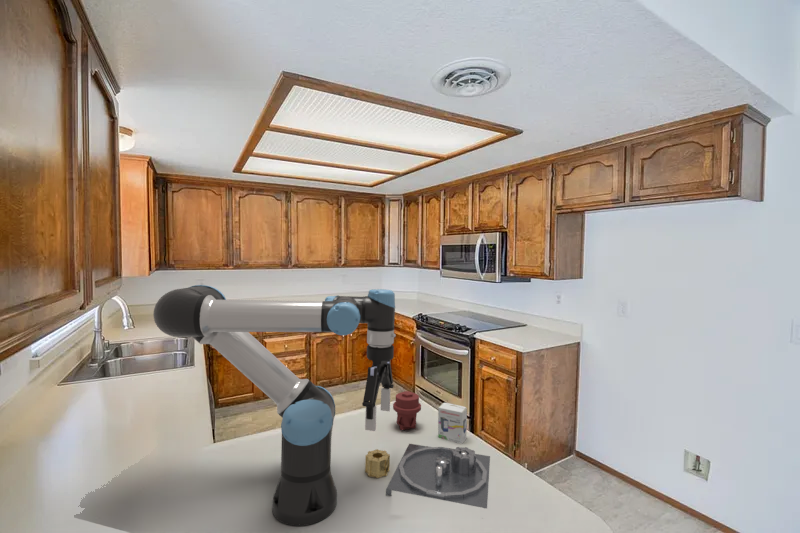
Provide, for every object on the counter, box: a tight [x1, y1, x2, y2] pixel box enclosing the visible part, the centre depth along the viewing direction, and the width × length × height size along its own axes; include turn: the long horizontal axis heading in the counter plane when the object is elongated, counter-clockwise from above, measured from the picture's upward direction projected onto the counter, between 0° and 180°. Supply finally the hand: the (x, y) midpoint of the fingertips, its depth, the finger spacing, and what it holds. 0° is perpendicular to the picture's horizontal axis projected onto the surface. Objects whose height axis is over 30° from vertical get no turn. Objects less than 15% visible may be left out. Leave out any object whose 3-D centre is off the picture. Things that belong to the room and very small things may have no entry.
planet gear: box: [364, 448, 391, 479], centre depth 107 cm, size 7×7×4 cm
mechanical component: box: [392, 390, 422, 431], centre depth 136 cm, size 12×10×10 cm
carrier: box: [385, 443, 491, 509], centre depth 105 cm, size 25×25×6 cm
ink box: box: [437, 402, 468, 445], centre depth 125 cm, size 9×5×12 cm, turn 62°
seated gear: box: [451, 446, 476, 475], centre depth 107 cm, size 7×7×4 cm
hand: (378, 419), depth 107 cm, fingers open, 13 cm apart
